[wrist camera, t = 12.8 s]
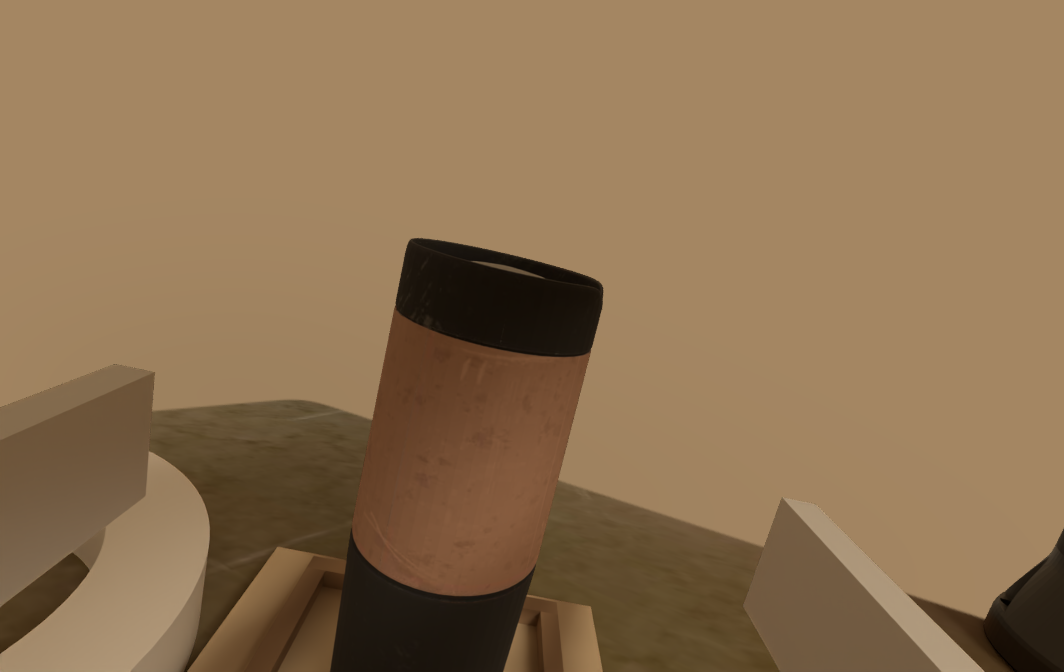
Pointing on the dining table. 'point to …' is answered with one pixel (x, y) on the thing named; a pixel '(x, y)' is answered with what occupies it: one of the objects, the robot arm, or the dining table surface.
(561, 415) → the travel mug
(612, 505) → the dining table surface
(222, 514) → the dining table surface
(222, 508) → the dining table surface
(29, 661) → the ring with crossbar
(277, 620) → the board
